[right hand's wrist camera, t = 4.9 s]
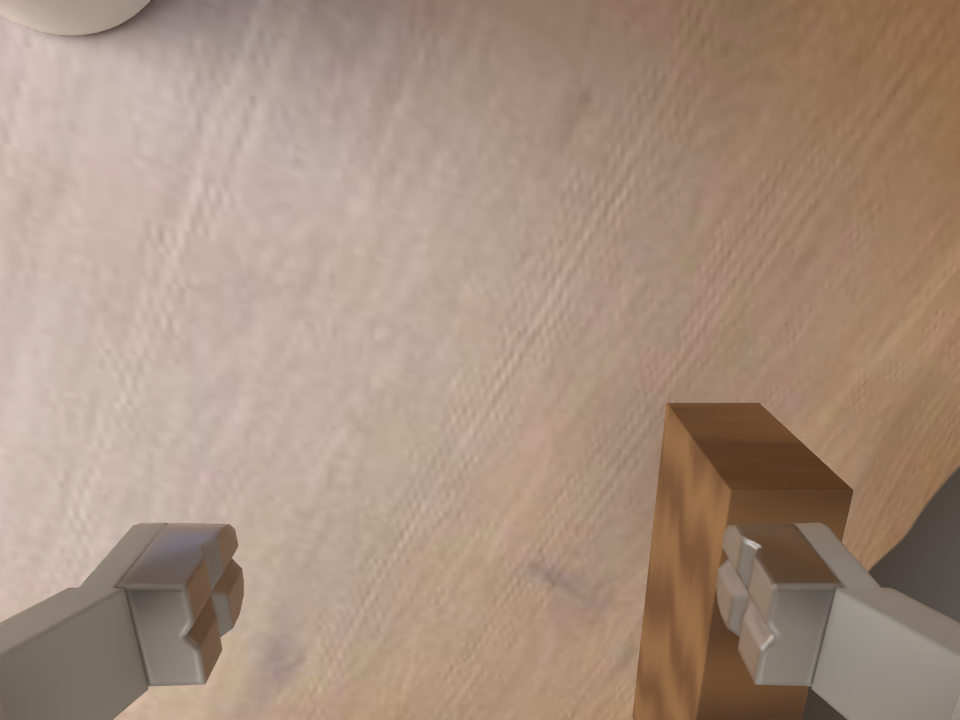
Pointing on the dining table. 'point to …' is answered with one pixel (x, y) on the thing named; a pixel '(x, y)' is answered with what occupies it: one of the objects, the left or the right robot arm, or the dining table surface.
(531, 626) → the dining table surface
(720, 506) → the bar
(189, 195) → the dining table surface
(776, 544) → the right robot arm
